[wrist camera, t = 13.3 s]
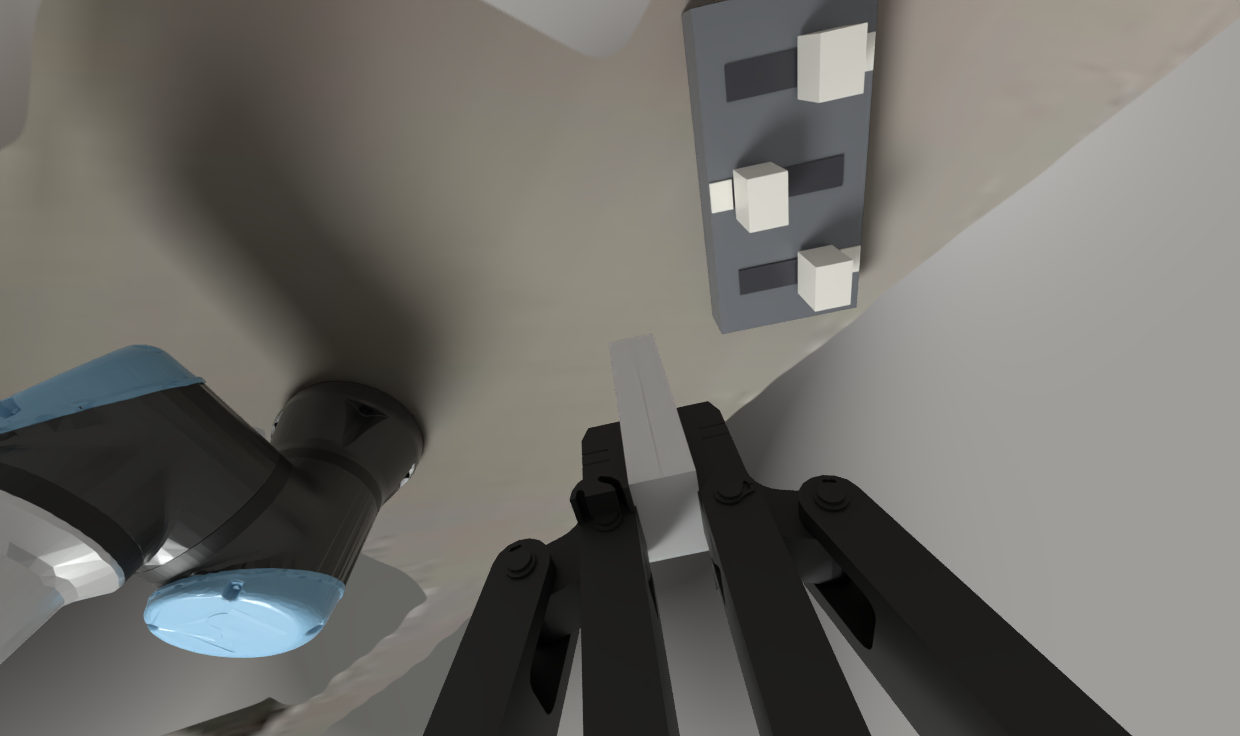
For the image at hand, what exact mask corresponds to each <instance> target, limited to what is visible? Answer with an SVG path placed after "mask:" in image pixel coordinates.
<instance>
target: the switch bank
mask: <svg viewBox="0 0 1240 736" xmlns="http://www.w3.org/2000/svg"><path fill="white" fill-rule="evenodd" d="M877 7H878V0H727V1H723V2H718V3H714V4H710V5H706V6H701V7H697V8H693V9H690V10H688V11H686V12H684V13H682V24H683V33H684V43H685V53H686V62H687V72H688V81H689V91H690V101H691V110H692V120H693V130H694V139H695V149H696V159H697V168H698V178H699V188H700V197H701V207H702V217H703V226H704V236H705V246H706V255H707V265H708V274H709V284H710V294H711V303H712V313H713V317H714V319H715V321H716V323H717V325H718V327H719V329H720V331H721V333H722V334H725V333H730V332H735V331H740V330H745V329H750V328H755V327H760V326H765V325H770V324H775V323H780V322H785V321H790V320H795V319H800V318H805V317H810V316H815V315H820V314H825V313H830V312H835V311H840V310H845V309H850V308H855V307H857V293H858V279H859V264H860V250H861V236H862V221H863V207H864V193H865V178H866V164H867V150H868V135H869V121H870V107H871V93H872V78H873V64H874V50H875V36H876V21H877ZM861 23H868V28H867V44H866V60H865V77H864V93H862V94H858V95H853V96H849V97H844V98H839V99H835V100H830V101H826V102H821V103H816V102H810V101H804V100H798V36H801V35H805V34H809V33H814V32H818V31H823V30H827V29H831V28H836V27H840V26H847V25H854V24H861ZM766 162H772V163H774V164H776V165H778V166H780V167H782V168H783V169H785V170H787V171H788V218H789V225H786V226H781V227H776V228H772V229H767V230H762V231H757V232H753V233H749V232H748V231H747V230H746V229H745V228H744V227H743V226H742V225H741V224H740V222H739V221H738V220H737V219H736V208H735V193H734V178H733V170H734V169H738V168H743V167H748V166H752V165H757V164H761V163H766ZM828 245H833V246H834V247H836V248H837V249H839V250H840V251H841V252H843V253H844V254H845V255H847V256H848V257H850V258H851V259H852V260H853V271H852V287H851V303H850V305H846V306H841V307H836V308H831V309H826V310H821V311H816V312H815V311H814V310H813V309H812V308H811V307H810V306H809V305H808V304H807V302H806V301H805V300H804V299H803V298H802V297H801V296H800V295H799V294H798V252H799V251H804V250H809V249H813V248H818V247H823V246H828Z"/></svg>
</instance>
